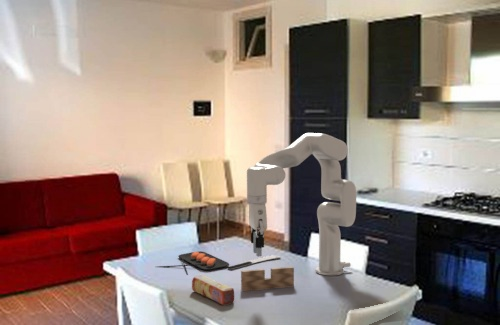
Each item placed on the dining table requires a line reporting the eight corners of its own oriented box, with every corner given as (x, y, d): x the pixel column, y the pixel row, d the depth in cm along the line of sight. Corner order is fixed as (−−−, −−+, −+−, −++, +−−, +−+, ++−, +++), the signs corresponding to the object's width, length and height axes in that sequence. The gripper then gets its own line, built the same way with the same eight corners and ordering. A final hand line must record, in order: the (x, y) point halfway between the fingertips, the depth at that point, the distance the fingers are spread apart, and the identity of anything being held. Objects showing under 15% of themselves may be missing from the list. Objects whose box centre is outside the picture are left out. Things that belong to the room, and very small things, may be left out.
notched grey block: (253, 252, 207) (253, 232, 206) (257, 251, 208) (257, 231, 207) (257, 256, 201) (257, 236, 200) (261, 256, 201) (261, 235, 201)
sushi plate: (232, 268, 246) (231, 260, 246) (173, 280, 229) (173, 271, 229) (201, 254, 270) (201, 247, 270) (146, 264, 253) (146, 256, 253)
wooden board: (292, 285, 220) (292, 266, 219) (293, 286, 219) (293, 267, 218) (241, 289, 215) (241, 270, 214) (242, 291, 213) (242, 271, 213)
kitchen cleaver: (268, 253, 267) (282, 255, 260) (268, 256, 267) (282, 258, 260) (219, 265, 247) (232, 267, 240) (219, 268, 247) (232, 271, 240)
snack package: (236, 303, 201) (236, 286, 200) (222, 307, 197) (221, 289, 196) (204, 288, 217) (204, 272, 216) (190, 292, 213) (190, 276, 212)
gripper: (272, 202, 195) (273, 250, 196) (260, 195, 211) (260, 239, 213) (253, 203, 193) (253, 251, 195) (242, 196, 209) (242, 240, 211)
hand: (257, 244), depth 204 cm, fingers closed on notched grey block, 6 cm apart
